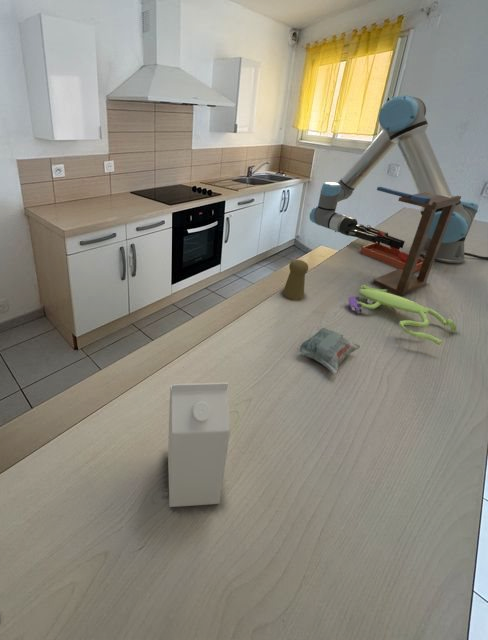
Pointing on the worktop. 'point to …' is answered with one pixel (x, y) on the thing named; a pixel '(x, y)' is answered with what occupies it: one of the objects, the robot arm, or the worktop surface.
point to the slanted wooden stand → (420, 246)
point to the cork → (296, 280)
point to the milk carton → (197, 443)
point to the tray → (386, 255)
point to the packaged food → (328, 348)
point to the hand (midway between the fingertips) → (401, 245)
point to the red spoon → (396, 250)
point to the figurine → (402, 304)
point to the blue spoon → (407, 195)
